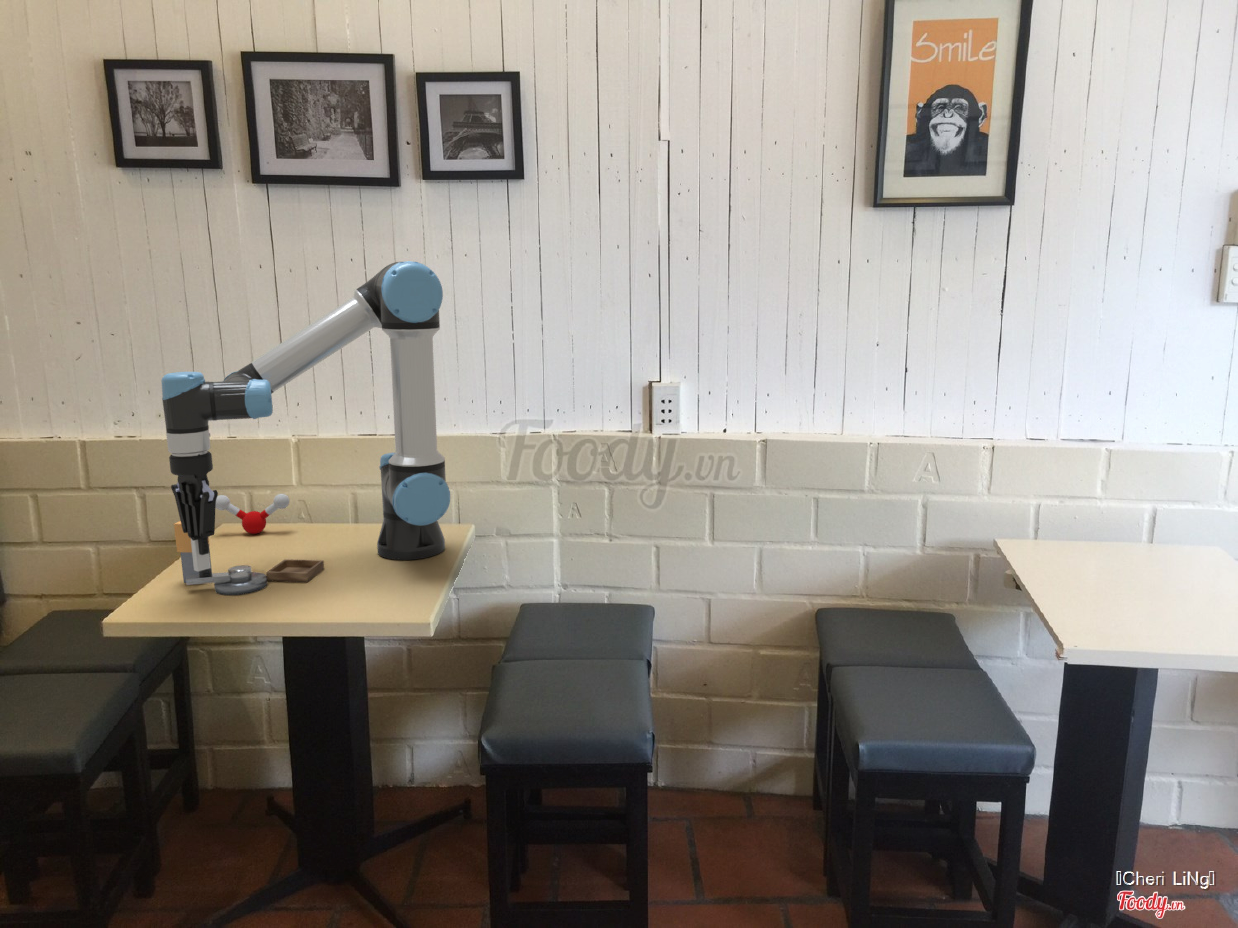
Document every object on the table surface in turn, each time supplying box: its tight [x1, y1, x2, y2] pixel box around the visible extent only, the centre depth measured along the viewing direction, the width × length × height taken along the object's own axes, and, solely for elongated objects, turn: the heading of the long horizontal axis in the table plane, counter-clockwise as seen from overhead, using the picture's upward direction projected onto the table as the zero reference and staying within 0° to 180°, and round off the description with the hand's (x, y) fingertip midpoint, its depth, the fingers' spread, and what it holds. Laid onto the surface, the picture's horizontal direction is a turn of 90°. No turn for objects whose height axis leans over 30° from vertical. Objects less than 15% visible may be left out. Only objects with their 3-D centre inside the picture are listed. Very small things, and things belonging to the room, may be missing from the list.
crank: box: [186, 543, 253, 586], centre depth 190 cm, size 12×4×8 cm, turn 105°
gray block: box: [179, 552, 199, 584], centre depth 194 cm, size 4×3×7 cm
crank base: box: [213, 571, 268, 596], centre depth 192 cm, size 10×10×2 cm
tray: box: [265, 558, 325, 584], centre depth 198 cm, size 9×9×2 cm
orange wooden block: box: [173, 520, 210, 553], centre depth 193 cm, size 4×4×6 cm
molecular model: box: [215, 493, 290, 535], centre depth 228 cm, size 18×6×10 cm, turn 102°
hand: (202, 568), depth 186 cm, fingers closed
